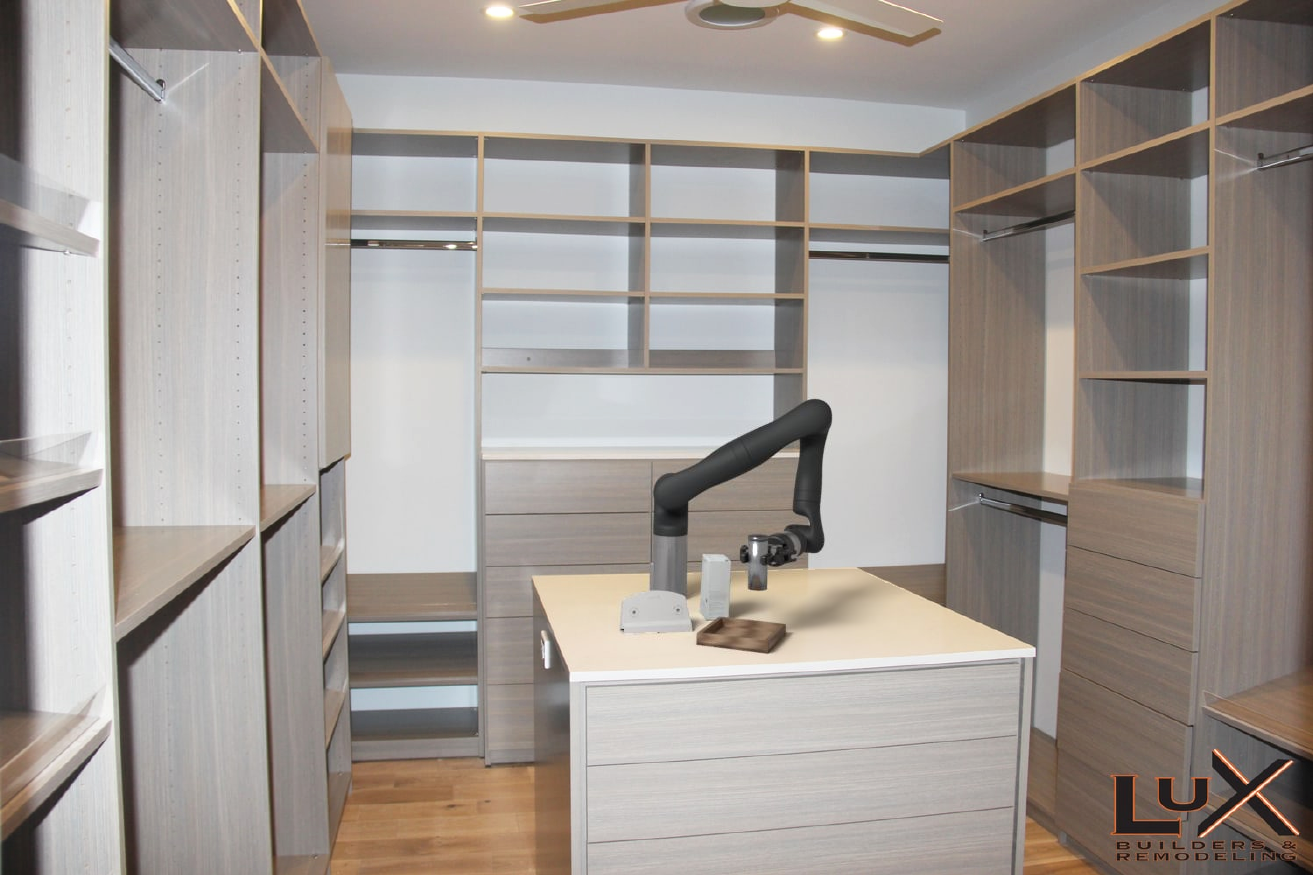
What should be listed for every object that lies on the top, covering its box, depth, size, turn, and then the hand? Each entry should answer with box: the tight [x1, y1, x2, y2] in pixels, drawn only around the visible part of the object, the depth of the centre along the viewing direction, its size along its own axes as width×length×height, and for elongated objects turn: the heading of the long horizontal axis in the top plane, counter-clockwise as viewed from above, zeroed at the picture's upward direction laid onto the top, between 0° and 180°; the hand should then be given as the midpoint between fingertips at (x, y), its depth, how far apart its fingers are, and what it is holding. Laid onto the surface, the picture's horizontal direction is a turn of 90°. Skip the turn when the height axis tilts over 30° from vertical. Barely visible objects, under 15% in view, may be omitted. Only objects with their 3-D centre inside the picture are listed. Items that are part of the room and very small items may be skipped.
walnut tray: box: [695, 616, 787, 654], centre depth 202 cm, size 16×16×2 cm
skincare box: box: [699, 553, 732, 621], centre depth 222 cm, size 8×6×15 cm
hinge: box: [619, 590, 693, 634], centre depth 210 cm, size 17×5×10 cm, turn 103°
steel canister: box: [747, 533, 769, 592], centre depth 204 cm, size 5×5×12 cm
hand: (753, 559), depth 202 cm, fingers closed on steel canister, 4 cm apart
